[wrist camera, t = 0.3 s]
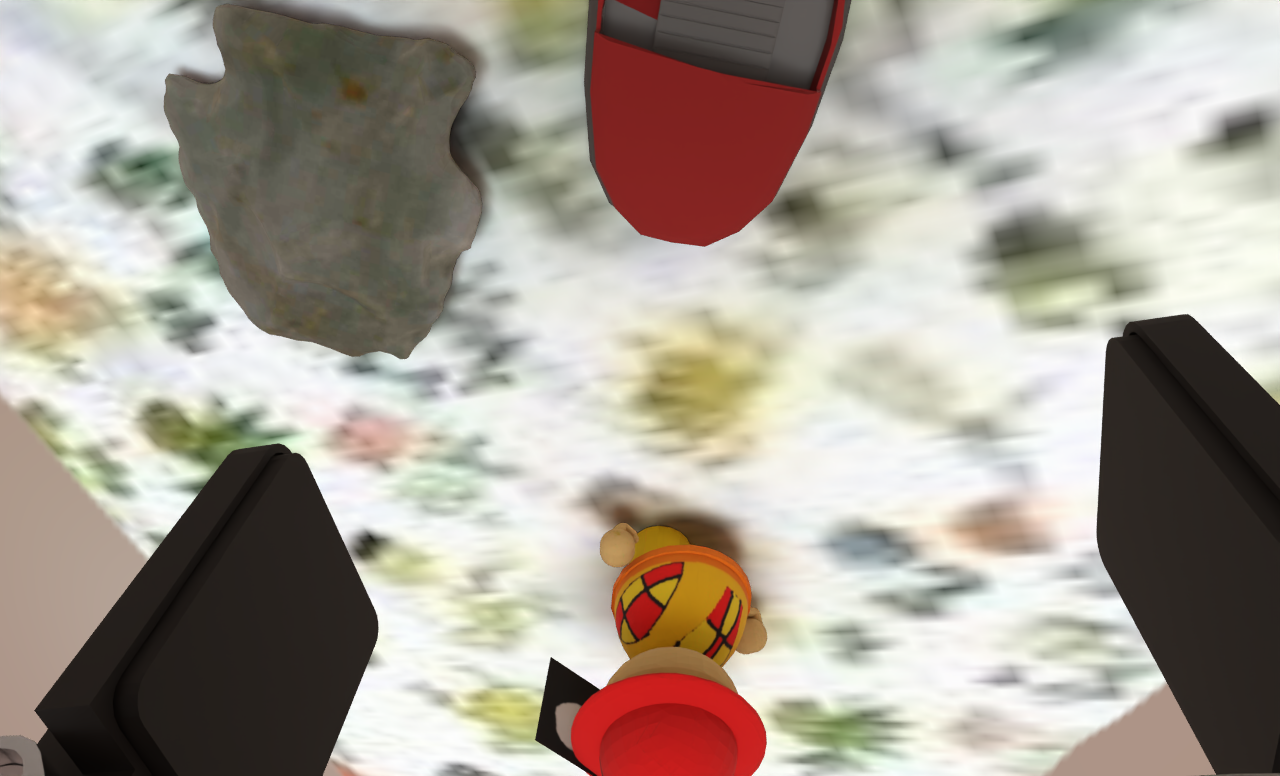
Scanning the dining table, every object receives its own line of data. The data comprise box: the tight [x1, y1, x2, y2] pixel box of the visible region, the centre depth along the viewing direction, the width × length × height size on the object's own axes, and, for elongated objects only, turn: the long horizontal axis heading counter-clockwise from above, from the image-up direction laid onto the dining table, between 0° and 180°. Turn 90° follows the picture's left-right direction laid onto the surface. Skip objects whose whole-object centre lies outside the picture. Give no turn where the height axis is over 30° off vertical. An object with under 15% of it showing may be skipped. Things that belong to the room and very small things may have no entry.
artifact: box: [164, 4, 482, 359], centre depth 40 cm, size 14×4×15 cm
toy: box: [535, 523, 767, 776], centre depth 45 cm, size 11×9×15 cm
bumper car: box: [584, 0, 851, 247], centre depth 32 cm, size 10×20×10 cm, turn 170°
